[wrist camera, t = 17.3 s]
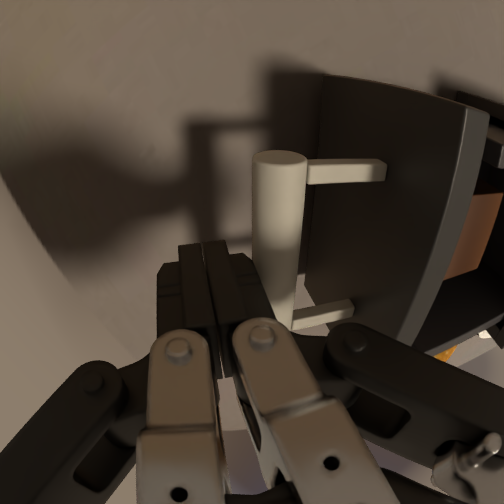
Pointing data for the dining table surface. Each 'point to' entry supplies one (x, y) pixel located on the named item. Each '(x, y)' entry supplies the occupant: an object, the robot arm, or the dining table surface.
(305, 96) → the dining table surface
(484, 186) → the block
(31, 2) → the dining table surface
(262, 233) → the drawer
